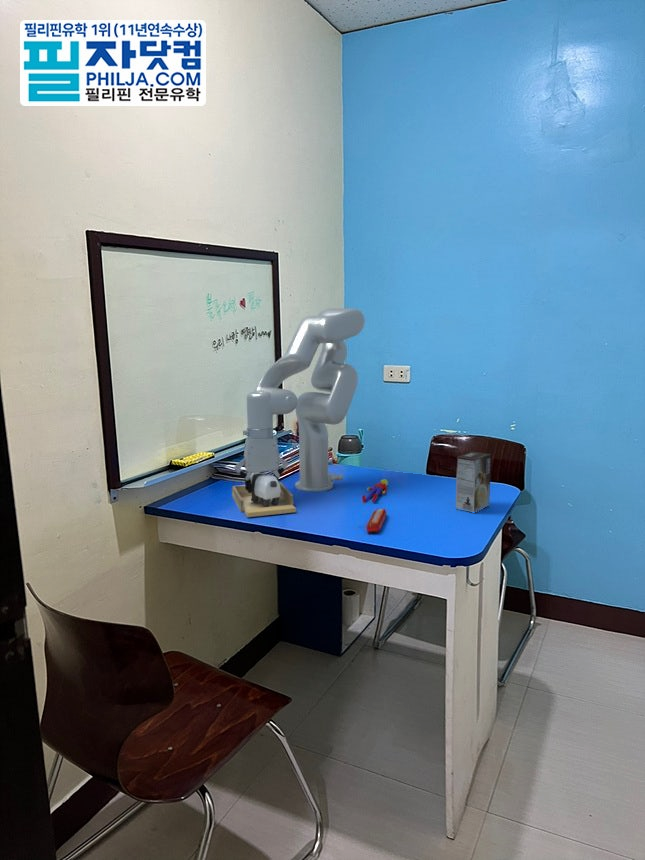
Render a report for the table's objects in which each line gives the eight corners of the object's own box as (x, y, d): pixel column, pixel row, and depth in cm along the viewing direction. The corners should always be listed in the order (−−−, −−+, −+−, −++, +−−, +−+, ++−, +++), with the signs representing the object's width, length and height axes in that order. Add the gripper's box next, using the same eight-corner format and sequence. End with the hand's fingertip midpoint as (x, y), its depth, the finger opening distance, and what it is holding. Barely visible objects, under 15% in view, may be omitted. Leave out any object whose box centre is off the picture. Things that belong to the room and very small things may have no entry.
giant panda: (282, 505, 188) (282, 474, 186) (266, 508, 185) (267, 476, 183) (255, 493, 199) (255, 463, 197) (240, 496, 196) (240, 466, 194)
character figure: (361, 488, 191) (379, 471, 210) (357, 500, 193) (375, 483, 211) (378, 495, 190) (395, 478, 208) (374, 508, 191) (391, 489, 209)
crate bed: (280, 493, 202) (280, 481, 201) (293, 508, 187) (293, 495, 186) (232, 498, 197) (231, 486, 196) (241, 513, 182) (240, 500, 182)
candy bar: (374, 515, 181) (374, 505, 180) (387, 516, 180) (387, 506, 179) (364, 535, 166) (365, 524, 165) (378, 536, 165) (378, 525, 164)
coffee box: (470, 502, 191) (472, 450, 188) (489, 506, 187) (492, 454, 184) (454, 509, 185) (456, 456, 182) (474, 514, 180) (476, 459, 177)
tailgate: (291, 504, 185) (295, 507, 181) (292, 508, 185) (296, 512, 181) (244, 509, 181) (247, 513, 177) (244, 513, 181) (247, 517, 177)
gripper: (233, 437, 181) (235, 496, 185) (292, 433, 186) (293, 491, 190) (229, 432, 188) (231, 489, 192) (285, 429, 193) (287, 484, 197)
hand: (262, 490), depth 191 cm, fingers open, 7 cm apart
